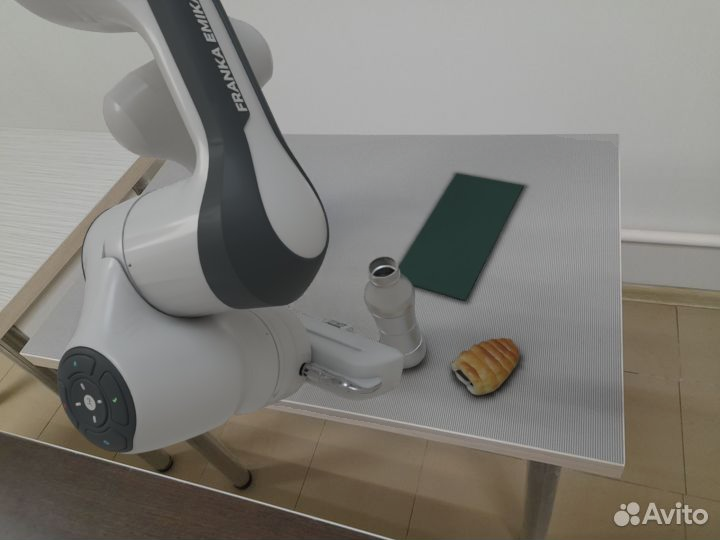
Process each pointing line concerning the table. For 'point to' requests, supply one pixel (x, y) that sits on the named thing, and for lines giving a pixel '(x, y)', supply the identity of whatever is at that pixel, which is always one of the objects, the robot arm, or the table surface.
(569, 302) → the table surface
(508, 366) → the pastry
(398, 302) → the plastic bottle
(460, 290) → the mat
